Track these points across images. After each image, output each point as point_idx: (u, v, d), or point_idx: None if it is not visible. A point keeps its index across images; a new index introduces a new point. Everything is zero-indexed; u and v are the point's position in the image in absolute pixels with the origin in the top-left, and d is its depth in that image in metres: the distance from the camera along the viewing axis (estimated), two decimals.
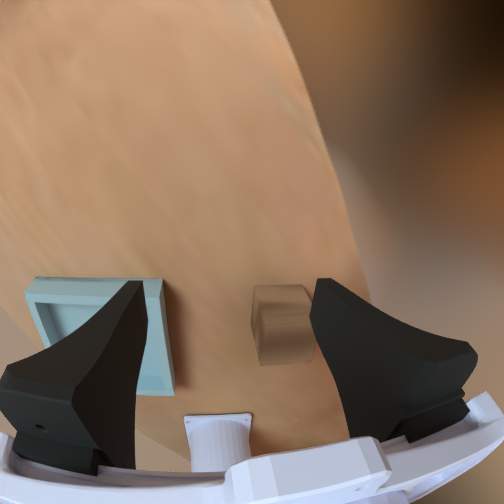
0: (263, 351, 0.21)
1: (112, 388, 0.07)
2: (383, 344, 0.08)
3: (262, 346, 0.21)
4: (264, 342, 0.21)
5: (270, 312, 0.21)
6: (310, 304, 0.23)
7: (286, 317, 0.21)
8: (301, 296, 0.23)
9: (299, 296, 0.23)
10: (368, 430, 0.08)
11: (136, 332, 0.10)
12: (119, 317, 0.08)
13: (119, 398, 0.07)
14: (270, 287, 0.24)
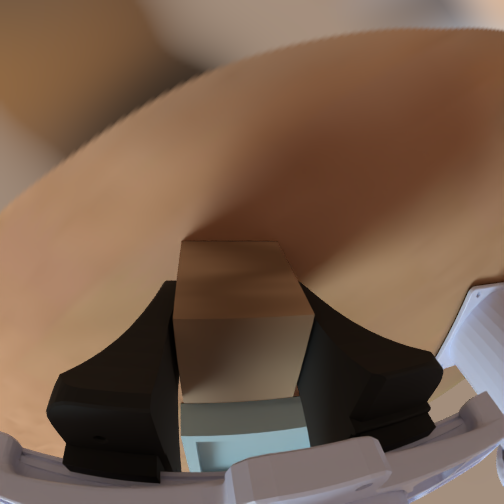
0: (251, 399, 0.10)
1: (168, 391, 0.07)
2: (335, 351, 0.07)
3: None
4: (226, 401, 0.10)
5: None
6: (177, 281, 0.10)
7: None
8: None
9: None
10: (324, 441, 0.08)
11: None
12: (168, 318, 0.09)
13: (171, 401, 0.08)
14: None
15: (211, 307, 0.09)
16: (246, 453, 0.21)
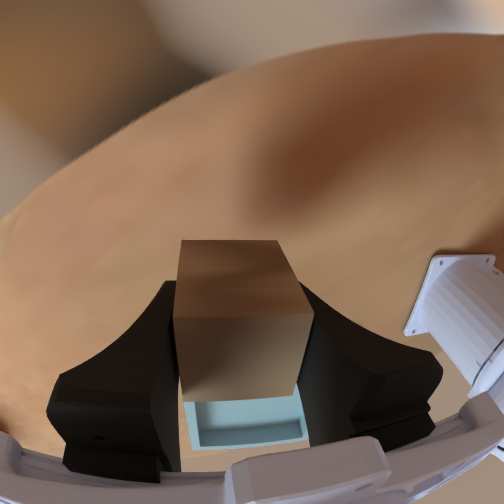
0: (251, 397, 0.10)
1: (168, 391, 0.07)
2: (335, 351, 0.07)
3: None
4: (226, 399, 0.10)
5: None
6: (177, 279, 0.10)
7: None
8: None
9: None
10: (324, 441, 0.08)
11: None
12: (168, 318, 0.09)
13: (171, 400, 0.08)
14: None
15: (211, 306, 0.09)
16: (238, 410, 0.25)
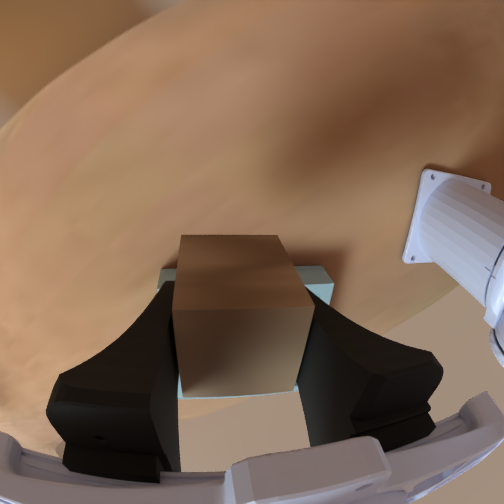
0: (251, 393, 0.10)
1: (167, 391, 0.07)
2: (335, 351, 0.07)
3: None
4: (226, 395, 0.10)
5: None
6: None
7: None
8: None
9: None
10: (324, 441, 0.08)
11: None
12: (168, 318, 0.09)
13: (171, 400, 0.07)
14: None
15: (211, 299, 0.09)
16: None
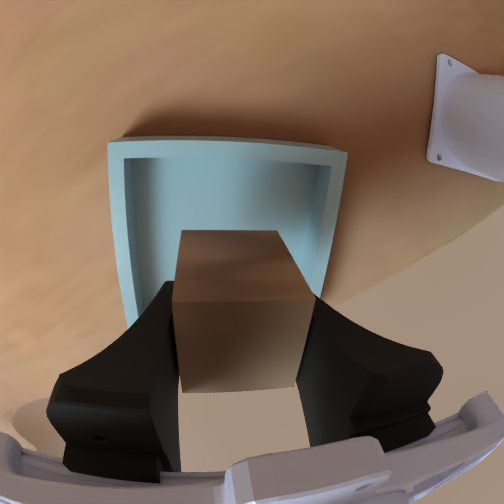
0: (252, 388, 0.10)
1: (168, 391, 0.07)
2: (335, 351, 0.07)
3: None
4: (226, 390, 0.10)
5: None
6: (176, 267, 0.10)
7: None
8: None
9: None
10: (324, 441, 0.08)
11: None
12: (168, 318, 0.09)
13: (171, 400, 0.07)
14: None
15: (211, 291, 0.08)
16: None
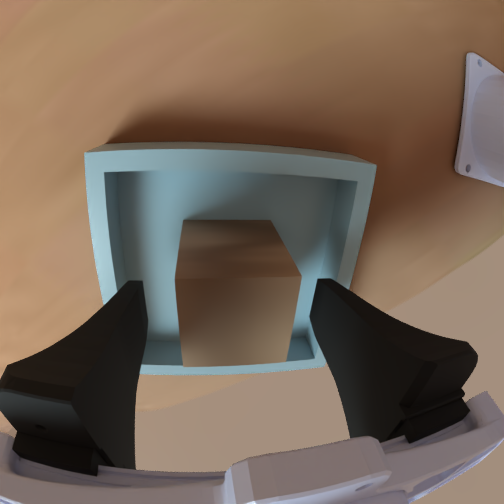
0: (247, 363, 0.11)
1: (112, 388, 0.07)
2: (383, 343, 0.08)
3: None
4: (223, 364, 0.11)
5: None
6: None
7: None
8: None
9: None
10: (368, 431, 0.08)
11: (136, 332, 0.10)
12: (119, 317, 0.08)
13: (119, 398, 0.07)
14: None
15: (209, 270, 0.10)
16: None
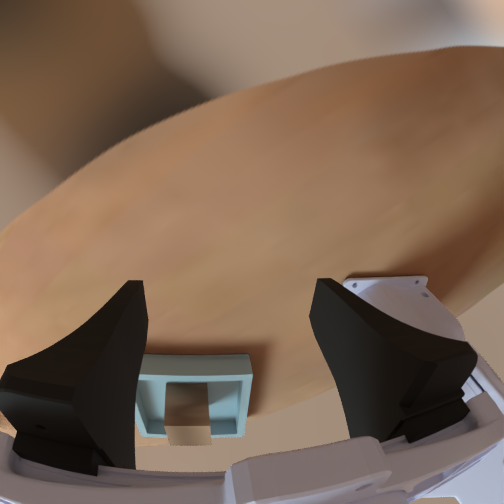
0: (195, 445, 0.24)
1: (112, 388, 0.07)
2: (383, 344, 0.08)
3: None
4: None
5: None
6: None
7: None
8: (165, 399, 0.25)
9: None
10: (368, 430, 0.08)
11: (136, 332, 0.10)
12: (119, 317, 0.08)
13: (119, 398, 0.07)
14: None
15: (176, 421, 0.23)
16: None
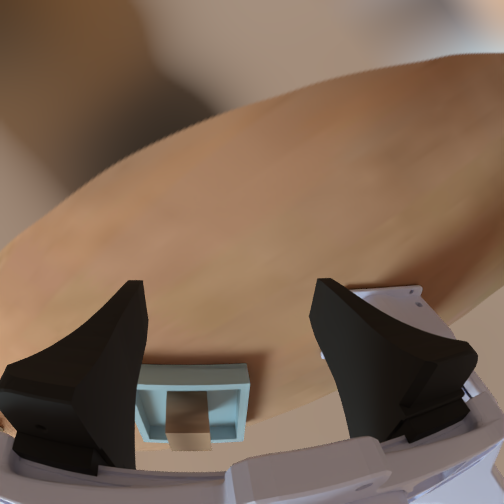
0: (196, 450, 0.25)
1: (112, 388, 0.07)
2: (383, 343, 0.08)
3: None
4: (186, 450, 0.25)
5: None
6: None
7: None
8: None
9: None
10: (368, 430, 0.08)
11: (136, 332, 0.10)
12: (119, 317, 0.08)
13: (119, 398, 0.07)
14: None
15: (177, 428, 0.23)
16: None
